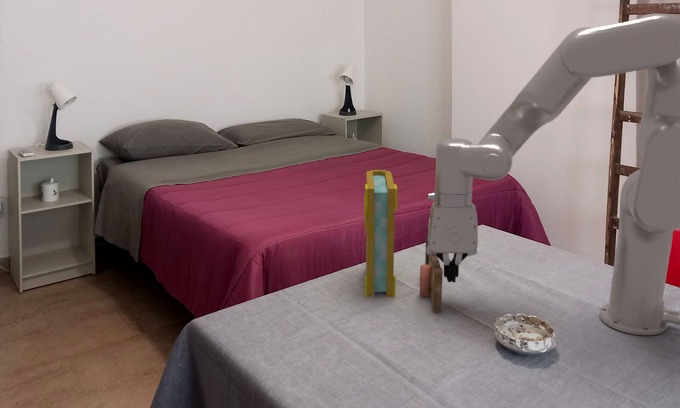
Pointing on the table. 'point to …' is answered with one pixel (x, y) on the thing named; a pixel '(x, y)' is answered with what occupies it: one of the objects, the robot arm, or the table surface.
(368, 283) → the book
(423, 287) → the post
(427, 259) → the gate post
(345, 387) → the table surface
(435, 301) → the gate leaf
